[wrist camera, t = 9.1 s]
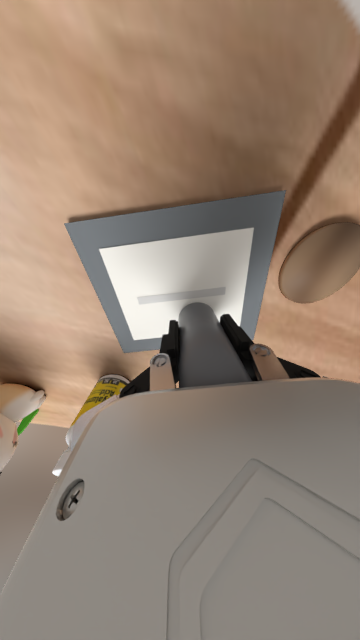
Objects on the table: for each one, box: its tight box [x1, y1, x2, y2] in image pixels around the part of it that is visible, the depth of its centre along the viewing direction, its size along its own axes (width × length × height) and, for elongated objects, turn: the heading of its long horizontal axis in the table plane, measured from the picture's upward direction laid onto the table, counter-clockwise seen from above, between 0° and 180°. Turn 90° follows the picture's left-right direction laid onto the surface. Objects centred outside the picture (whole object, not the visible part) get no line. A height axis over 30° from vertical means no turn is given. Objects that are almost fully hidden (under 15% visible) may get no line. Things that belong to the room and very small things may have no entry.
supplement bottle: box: [52, 375, 130, 477], centre depth 17 cm, size 5×5×10 cm
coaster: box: [279, 222, 360, 303], centre depth 12 cm, size 7×7×1 cm
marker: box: [178, 302, 252, 388], centre depth 9 cm, size 4×4×11 cm
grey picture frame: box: [64, 190, 286, 353], centre depth 13 cm, size 17×14×1 cm
